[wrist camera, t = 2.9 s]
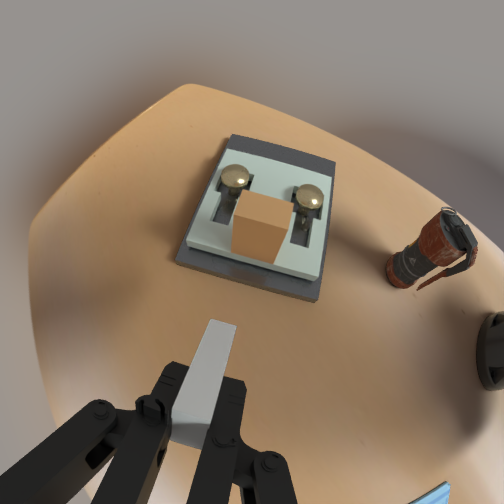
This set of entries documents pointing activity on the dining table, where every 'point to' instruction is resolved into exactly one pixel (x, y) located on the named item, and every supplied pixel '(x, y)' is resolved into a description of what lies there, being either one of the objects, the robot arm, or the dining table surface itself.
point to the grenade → (434, 251)
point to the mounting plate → (306, 210)
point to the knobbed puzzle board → (263, 218)
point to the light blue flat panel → (435, 495)
